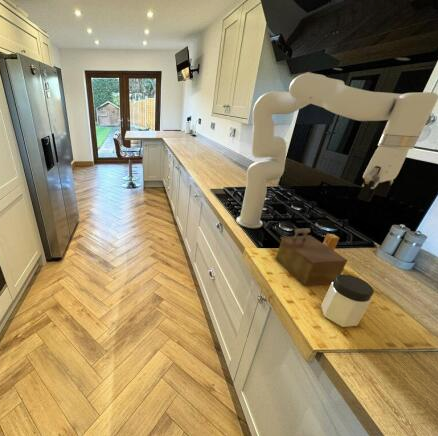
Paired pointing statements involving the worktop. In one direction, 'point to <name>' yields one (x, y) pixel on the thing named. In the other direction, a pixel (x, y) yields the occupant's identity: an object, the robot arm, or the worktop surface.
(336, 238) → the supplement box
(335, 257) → the lid
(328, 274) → the chest
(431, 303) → the worktop surface
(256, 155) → the robot arm
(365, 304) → the jar
